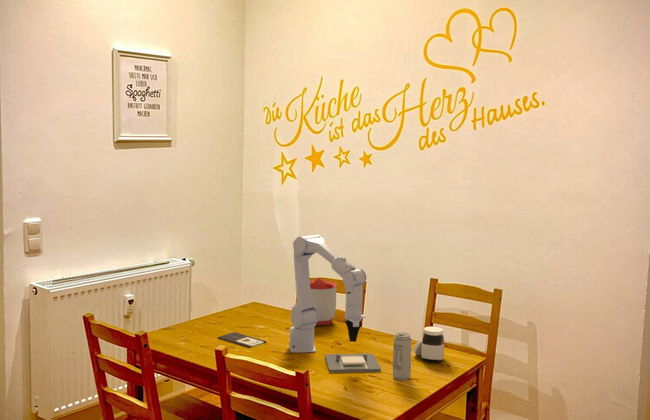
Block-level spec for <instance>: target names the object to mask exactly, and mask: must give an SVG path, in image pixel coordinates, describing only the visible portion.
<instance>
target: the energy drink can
mask: <svg viewBox="0 0 650 420" xmlns="http://www.w3.org/2000/svg"><path fill="white" fill-rule="evenodd" d="M412 340H413V339H412V338H411V334H410V333H407V332H396V333H395V336H394V338H393V349H392V350H393V351H392V353H393V354H392V376H393V377H394V379H395V380H397V381H403V382H404V381H408V380H409V379H410V377H411V372H412V371H411V369H412V368H411V367H412Z"/></svg>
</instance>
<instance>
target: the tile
mask: <svg viewBox="0 0 650 420" xmlns="http://www.w3.org/2000/svg"><path fill="white" fill-rule="evenodd" d="M341 360H342V363H343V365H364V364H366V362H365V360H364V358H363V356H346V357H341Z"/></svg>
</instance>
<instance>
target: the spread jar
mask: <svg viewBox="0 0 650 420" xmlns="http://www.w3.org/2000/svg"><path fill="white" fill-rule="evenodd" d="M444 350H445V338H444V329H443V328H442V327H438V326H427V327H426V326H425V327H424V329H423V335H422V337H421V338H419V339H418V340H417V341H416V342H415V345H414V346H413V353H414V354H416V356H420V355H421V359H422V361H424V362H425V363H428V364H438V363H441V362H443V360H444V353H445V351H444Z"/></svg>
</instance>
